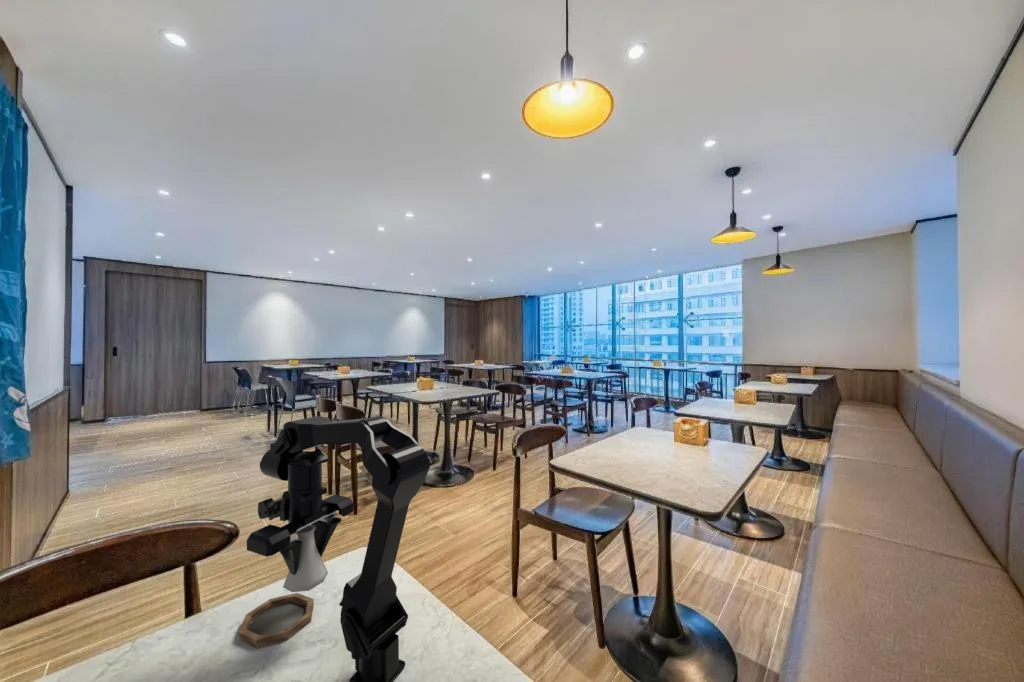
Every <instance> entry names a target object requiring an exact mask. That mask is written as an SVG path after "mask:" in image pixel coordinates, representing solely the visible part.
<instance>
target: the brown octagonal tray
mask: <svg viewBox="0 0 1024 682" xmlns="http://www.w3.org/2000/svg"><path fill="white" fill-rule="evenodd" d="M314 600H315V599H314V598H312V597H309V596H308V595H305V594H301V593H298V592H293V593H290V594H287V595H286V594H285V595H283V596H278V597H273V598H269V599H268V600H267V601H265V602H263V603H261V604H260V605H259V606H257V607H255V608H254V609H252V610H250V611H249V612H248V613H246V614H245V615H244V619H243V621H242V623H241V625H240V628H239V631H238V641H239V642H242V643H244V644H246V645H249V646H250V647H253V648H255V649H259V648H264V647H267V646H270V645H274V644H277V643H281V642H285V641H288V640H290V639H291V638H292V637H294V636H295V635H296V634H298V633H299V632H300V631H301V630H302V629H303V628H305V627H306V626H308V625H309V624H310V623H312V618H313V611H314V606H315V605H314V603H315V602H314Z"/></svg>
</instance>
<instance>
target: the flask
mask: <svg viewBox="0 0 1024 682" xmlns="http://www.w3.org/2000/svg"><path fill="white" fill-rule="evenodd" d="M315 529H316V527H315V526H313V525H309V526H307V527H305V528H303V529H301V530H299V531H297V533H296V537H297V540H299V541H302V546H301V552H300V559H299V566H298V570H297V573H296V574H295V575H293V574H291V573H290V571H289V570H288V573H287V575H286V578H285V580H284V582H283V586H282V588H284V589H285V590H287V591H289V592H290V593H298V592H308V591H311V590H312V589H314V588H316V587H317V586H319V585H321V584H322V583H324V581H325V580H326V578H327V576H328V574H329V571H328V568H327V567H326V565H325V562H324V560H323V559H322V557H321V556H320V554H319V552H318V550H317V547H316V544H315V539H314V531H315Z"/></svg>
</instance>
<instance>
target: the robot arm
mask: <svg viewBox="0 0 1024 682" xmlns="http://www.w3.org/2000/svg"><path fill="white" fill-rule="evenodd" d="M282 426H283V428H282V429H281V430H280V432H279V434H278V436H277V438H276V441H275V442H272V443H270V444H269V448H270V449H269V450H267V451H266V452H265V453H264V454H263V456H262V458H261V460H260V461H259V470H260V471H261V473H263V475H265V476H267V477H271V478H273V479H277V480H280V481H285V482H287V490H286V491H283V492H282V494H281V497H280V498H278V499H276V500H274V499H273V498H272V497H270V498H267V499H264V500H262V501H259V502H258V503H257V515H258V517H259V519H261V520H263V519H268V520H269V521H273V520H274V519H277V518H279V521H282V522H286V521H287V522H288V523H286V524H285V525H283V526H277V525H273V524H268V525H265V526H264V527H262V528H261V527H260V528H259V529H257V530H255V531H253V532H251V533H249V535H248V537H247V538H246V551H247V552H251V553H254V554H257V555H261V556H264V557H272V556H274V555H276V554H279V553H280V555H281V556H282V558H283V561H284V563H285V564H286V566H287V569H288V572H289V571H290V573H291V574H293V575H295V574H296V573H297V570H298V566H299V559H300V552H301V546H302V541H299V540H298V539H297V535H296V533H297V531H299V530H301V529H303V528H305V527H307V526H309V525H313V526H315V527H316V529H315V531H314V539H315V544H316V547H317V550H318V552H319V554H320V556H321V558H322V557H323V555H324V552H325V550H326V548H327V546H328V544H329V542H330V539H331V537H332V536H333V534H334V532H335V531H336V529H337V527H338V525H339V524H341V523H342V518H340V517H346V516H348V515H350V514H352V513H354V508H355V507H354V500H353V499H352V498H351V497H349V496H345V495H344V496H343V495H340V494H333V495H331V496H329V497H327V498H324V499H323V495H325V494H327V493H328V487H326V486H323V464H325V463H328V462H329V460H330V459H329V457H328V455H326V454H325V453H323V451H322V450H321V449H316V450H312V451H308V450H309V449H313V448H316V447H320V446H324V445H342V444H343V445H345V444H346V445H347V444H350V445H351V444H358V446H359V447H360V448H361V460H362V465H363V466H364V468H365V470H366V471H368V473H369V474H370V475H371V478H372V481H371V488H372V489H373V492H374V493H375V496H376V498H377V503H376V508H375V511H374V516H373V520H372V524H371V530H370V534H369V538H368V542H367V547H366V551H365V556H364V559H363V565H362V568H361V573H360V574H358V575H356V576H354V577H353V578H351V579H350V580H348V581H347V582H346V583H344V584H345V585H344V587H343V590H342V591H343V592H342V598H341V601H340V603H339V604H338V605H339V606H340V607H341V609H340V627H341V630H342V634H343V639H344V643H345V647H346V650H347V651H348V652H350V654H351V659H352V660H354V661H355V662H354V666H355V673H354V674H353V675H352V676H351V677H350V678H349V679H348V680H349V682H394V680H395V679H396V678H397V677H398V676H399V674H400V673H401V671H402V670H403V669H404V668H405V667H406V661H405V660H402V659H400V652H399V651H400V650H399V649H400V648H399V644H400V643H399V642H400V641H399V639H400V637H399V634H397V633H398V632H399V631H400V630H402V628H405V627H406V625H407V624H408V620H409V615H408V613H407V611H406V609H405V608H404V606H403V604H402V603H401V600H400V599H399V598H398V595H397V591H398V590H397V589H398V587H397V584H396V583H395V581H394V579H393V577H392V576H393V572H394V568H395V563H396V560H397V555H398V552H399V548H400V543H401V540H402V539H401V538H402V535H403V530H404V527H405V523H406V517H407V514H408V511H409V507H410V504H411V501H412V500H413V498H414V497H415V496H416V495H417V493H418V492H419V491H420V489H421V488H422V487H423V485H424V483H425V480H426V478H427V476H428V473H429V471H430V468H431V467H430V466H431V460H430V457H428V456H429V455H428V453H427V452H426V451H425V449H424V448H423V447H422V446H421V445H420V444H419V442H417V440H416V439H415V438H414V437H413V436H412V435H410V434H409V433H408V432H405V431H403V430H401V429H400V428H398V427H396V426H394V425H393V423H392V422H390V419H388V418H387V417H386V416H382V415H376V416H372V417H369V418H368V417H367V418H356V419H345V420H344V419H343V420H332V419H330V418H329V417H325V416H320V415H317V416H316V415H315V416H311V417H306V418H305V417H304V418H301V419H295V420H291V421H287V422H285V423H284V424H283V425H282ZM378 441H381V442H382V443H383V444H385V445H387V446H390V448H392V449H393V450H389V451H386V452H384V453H382V454H381V453H380V451H378V449H377V448H376V444H375V442H378ZM337 511H338V515H340V517H337Z"/></svg>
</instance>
